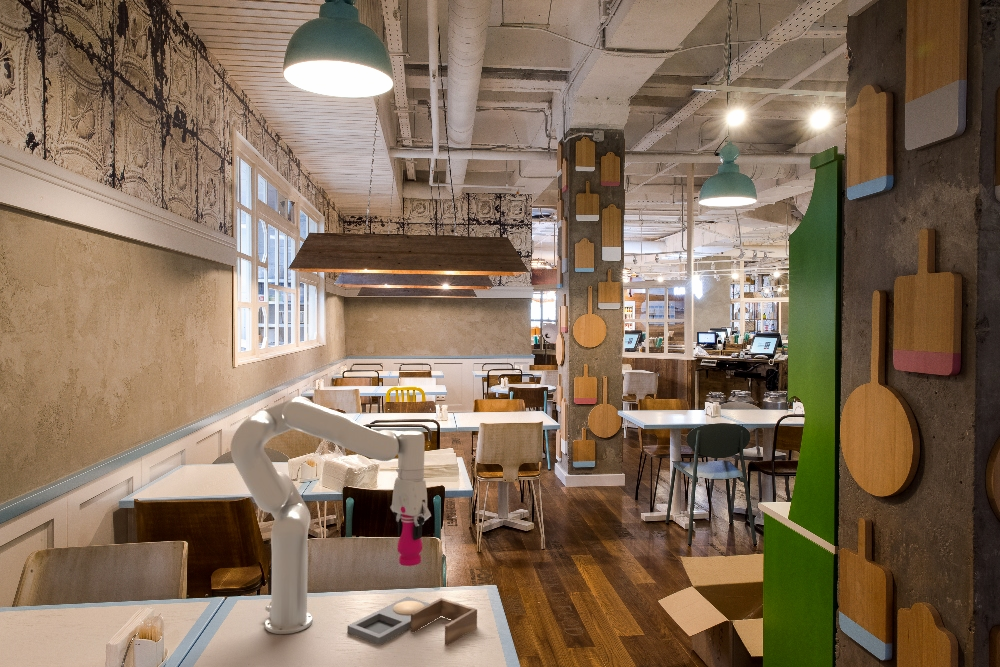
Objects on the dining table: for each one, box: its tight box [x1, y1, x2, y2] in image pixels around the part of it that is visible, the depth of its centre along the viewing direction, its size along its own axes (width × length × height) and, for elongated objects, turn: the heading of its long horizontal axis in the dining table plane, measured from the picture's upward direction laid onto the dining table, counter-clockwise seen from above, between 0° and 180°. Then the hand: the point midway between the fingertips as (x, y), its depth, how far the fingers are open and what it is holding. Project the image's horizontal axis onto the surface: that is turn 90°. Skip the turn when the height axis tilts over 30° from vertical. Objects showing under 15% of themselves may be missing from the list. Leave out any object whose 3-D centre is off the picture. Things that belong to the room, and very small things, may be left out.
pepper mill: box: [397, 506, 423, 567], centre depth 186 cm, size 7×7×20 cm
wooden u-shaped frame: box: [410, 597, 478, 646], centre depth 177 cm, size 13×13×5 cm
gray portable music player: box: [346, 596, 430, 646], centre depth 181 cm, size 12×24×2 cm, turn 146°
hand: (409, 536), depth 186 cm, fingers closed on pepper mill, 5 cm apart
